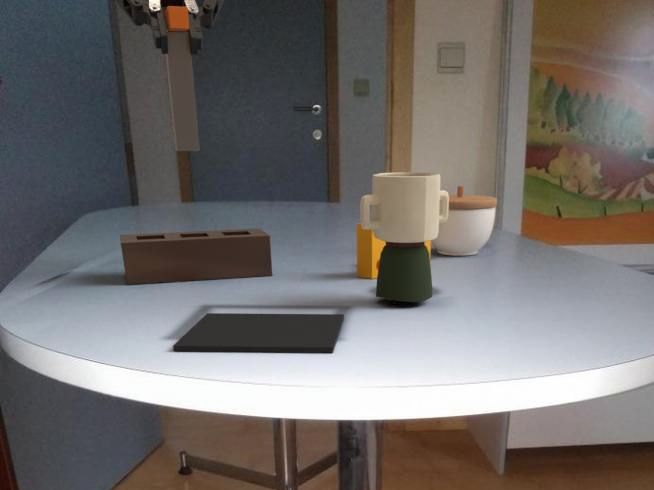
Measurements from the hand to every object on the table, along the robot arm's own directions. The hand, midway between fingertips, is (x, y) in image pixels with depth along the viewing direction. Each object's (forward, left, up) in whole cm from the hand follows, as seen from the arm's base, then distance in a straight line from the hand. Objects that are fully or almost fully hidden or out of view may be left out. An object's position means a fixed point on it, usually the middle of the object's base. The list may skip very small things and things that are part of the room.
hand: (179, 47), depth 79 cm
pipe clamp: (+23, +8, -26) cm, 35 cm away
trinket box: (+33, +23, -25) cm, 48 cm away
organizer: (-2, +4, -25) cm, 26 cm away
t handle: (-1, +2, -10) cm, 11 cm away
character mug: (+25, -11, -26) cm, 38 cm away
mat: (+12, -25, -25) cm, 38 cm away
